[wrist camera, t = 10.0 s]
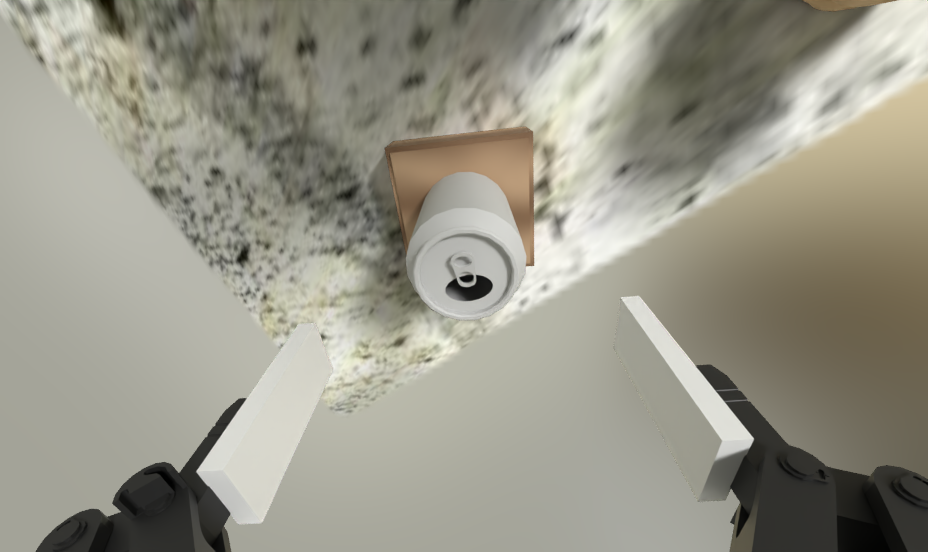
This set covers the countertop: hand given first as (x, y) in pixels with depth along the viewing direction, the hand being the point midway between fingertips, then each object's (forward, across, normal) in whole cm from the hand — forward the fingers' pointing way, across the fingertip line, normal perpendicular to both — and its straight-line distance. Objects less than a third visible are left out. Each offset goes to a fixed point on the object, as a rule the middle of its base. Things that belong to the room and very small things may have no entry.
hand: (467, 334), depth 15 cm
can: (+18, 0, 0) cm, 18 cm away
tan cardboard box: (+22, 0, 0) cm, 22 cm away
